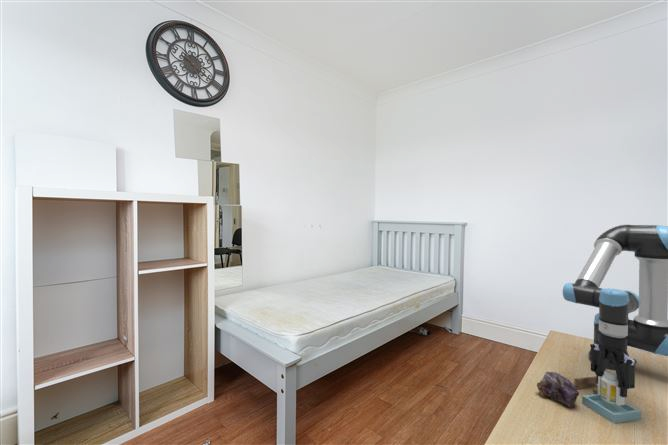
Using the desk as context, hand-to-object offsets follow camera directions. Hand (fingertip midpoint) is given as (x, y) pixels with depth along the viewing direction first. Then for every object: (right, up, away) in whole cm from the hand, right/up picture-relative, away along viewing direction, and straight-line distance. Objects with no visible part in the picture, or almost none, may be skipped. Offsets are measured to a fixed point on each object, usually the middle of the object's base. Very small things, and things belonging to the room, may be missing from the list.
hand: (610, 399), depth 108 cm
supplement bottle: (0, 0, 0) cm, 1 cm away
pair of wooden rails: (+4, -4, +11) cm, 12 cm away
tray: (0, -4, 0) cm, 4 cm away
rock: (-13, -4, +7) cm, 16 cm away
